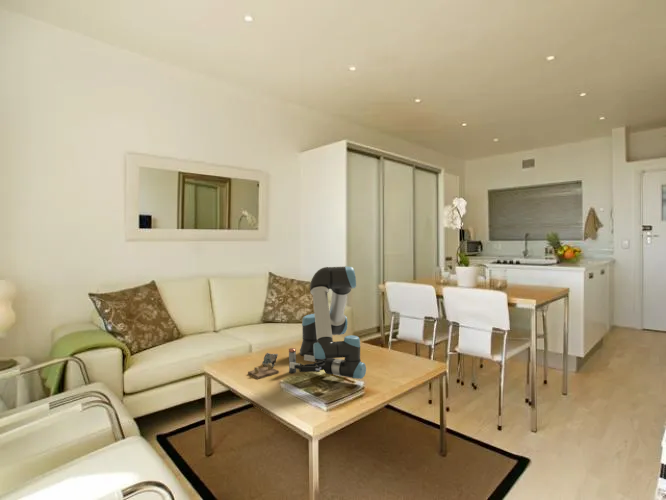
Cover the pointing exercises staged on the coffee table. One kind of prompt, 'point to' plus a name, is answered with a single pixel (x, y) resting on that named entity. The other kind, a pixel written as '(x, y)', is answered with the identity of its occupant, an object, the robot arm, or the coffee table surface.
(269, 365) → the peg rack
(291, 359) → the pin
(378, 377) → the coffee table surface
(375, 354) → the coffee table surface
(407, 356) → the coffee table surface
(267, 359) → the mineral specimen
